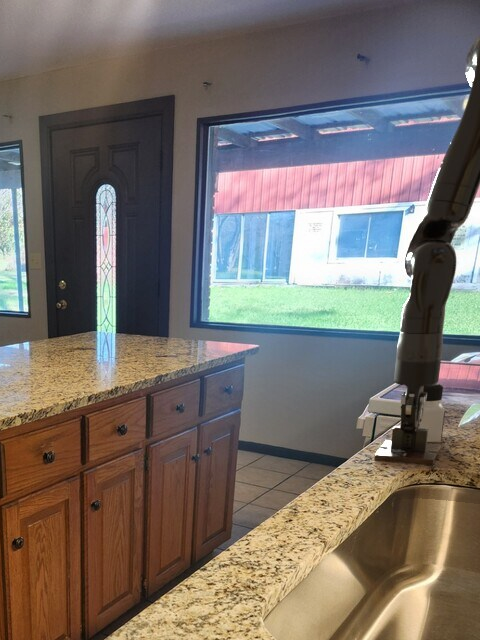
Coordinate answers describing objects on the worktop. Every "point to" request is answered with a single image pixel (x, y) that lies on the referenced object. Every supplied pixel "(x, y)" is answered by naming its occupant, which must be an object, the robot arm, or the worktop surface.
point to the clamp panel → (407, 455)
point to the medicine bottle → (433, 413)
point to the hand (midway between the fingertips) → (408, 449)
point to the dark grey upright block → (419, 439)
